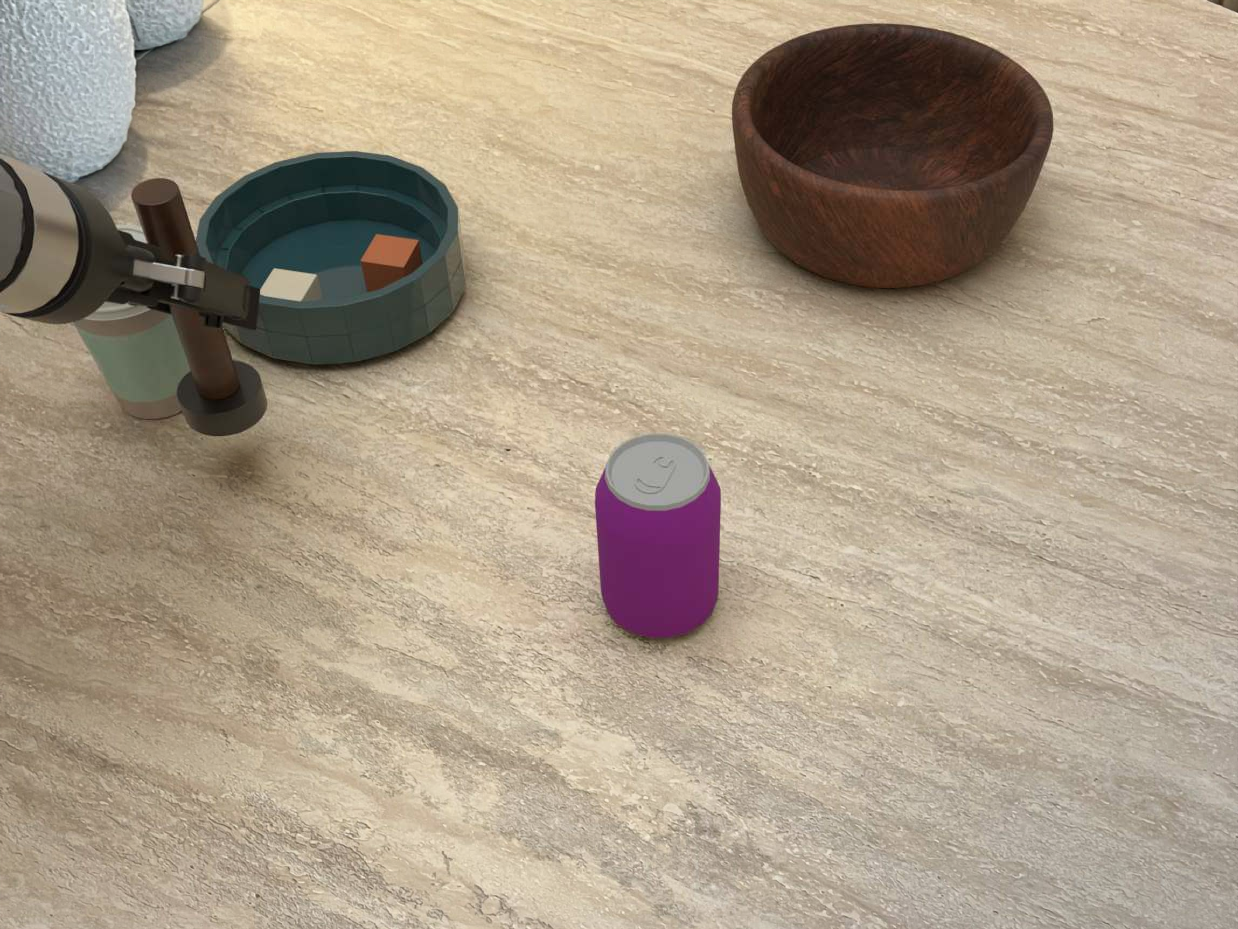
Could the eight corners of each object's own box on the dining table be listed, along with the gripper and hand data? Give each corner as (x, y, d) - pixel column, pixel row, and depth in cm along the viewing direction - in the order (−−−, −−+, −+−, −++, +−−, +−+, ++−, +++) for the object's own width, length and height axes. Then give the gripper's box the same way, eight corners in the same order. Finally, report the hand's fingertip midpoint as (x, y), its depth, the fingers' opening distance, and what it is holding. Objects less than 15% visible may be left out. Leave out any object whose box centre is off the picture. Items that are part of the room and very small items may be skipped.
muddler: (170, 430, 99) (89, 212, 85) (205, 376, 102) (132, 158, 89) (248, 442, 98) (178, 224, 85) (280, 388, 101) (218, 170, 88)
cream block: (266, 334, 111) (255, 296, 108) (283, 305, 113) (273, 267, 110) (309, 340, 111) (299, 302, 108) (326, 311, 113) (317, 274, 110)
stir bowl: (174, 351, 111) (151, 285, 106) (274, 202, 123) (257, 137, 118) (419, 389, 109) (407, 324, 104) (498, 233, 120) (490, 169, 115)
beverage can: (637, 543, 99) (632, 409, 90) (738, 582, 97) (744, 449, 87) (580, 620, 95) (568, 487, 86) (684, 663, 93) (684, 532, 83)
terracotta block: (367, 298, 114) (360, 260, 111) (383, 271, 116) (376, 233, 113) (410, 304, 113) (403, 267, 110) (425, 277, 115) (419, 239, 113)
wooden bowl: (954, 113, 131) (973, 0, 123) (1083, 279, 117) (1113, 164, 109) (689, 160, 126) (690, 47, 118) (789, 339, 112) (797, 224, 104)
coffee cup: (150, 342, 112) (99, 206, 102) (241, 375, 109) (198, 239, 100) (75, 411, 107) (15, 274, 97) (168, 447, 105) (117, 311, 95)
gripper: (-128, 294, 76) (113, 345, 100) (154, 337, 74) (333, 378, 97) (-118, 146, 75) (124, 232, 98) (169, 185, 73) (347, 264, 96)
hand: (227, 305), depth 98 cm, fingers closed on muddler, 3 cm apart
